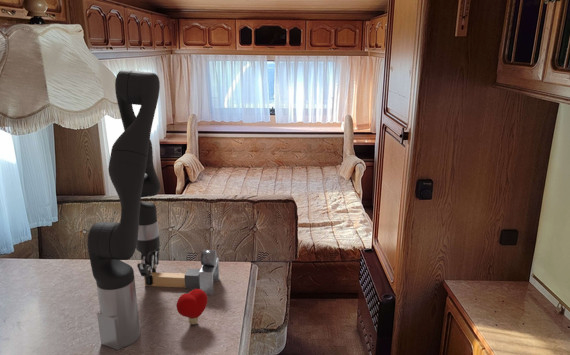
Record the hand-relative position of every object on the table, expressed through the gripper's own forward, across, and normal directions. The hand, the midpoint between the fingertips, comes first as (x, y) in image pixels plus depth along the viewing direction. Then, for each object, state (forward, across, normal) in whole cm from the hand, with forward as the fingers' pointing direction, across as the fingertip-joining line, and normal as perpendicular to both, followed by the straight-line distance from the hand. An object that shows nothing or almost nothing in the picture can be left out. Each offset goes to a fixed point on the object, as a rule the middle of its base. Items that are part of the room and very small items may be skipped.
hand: (151, 281), depth 142 cm
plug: (+1, 0, -8) cm, 8 cm away
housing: (+1, 0, -20) cm, 20 cm away
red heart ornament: (+1, -20, -20) cm, 29 cm away
